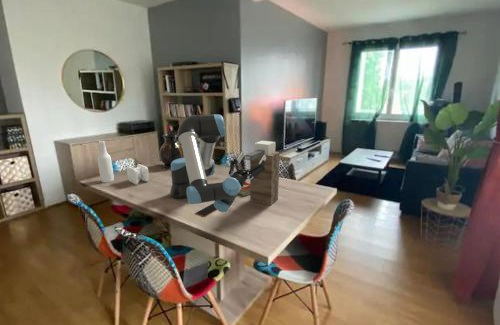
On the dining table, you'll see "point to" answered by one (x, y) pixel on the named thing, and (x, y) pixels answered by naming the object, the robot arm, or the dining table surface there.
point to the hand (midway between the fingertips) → (253, 155)
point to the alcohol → (105, 164)
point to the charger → (261, 150)
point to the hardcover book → (245, 189)
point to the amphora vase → (170, 150)
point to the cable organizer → (137, 174)
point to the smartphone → (206, 211)
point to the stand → (265, 180)
